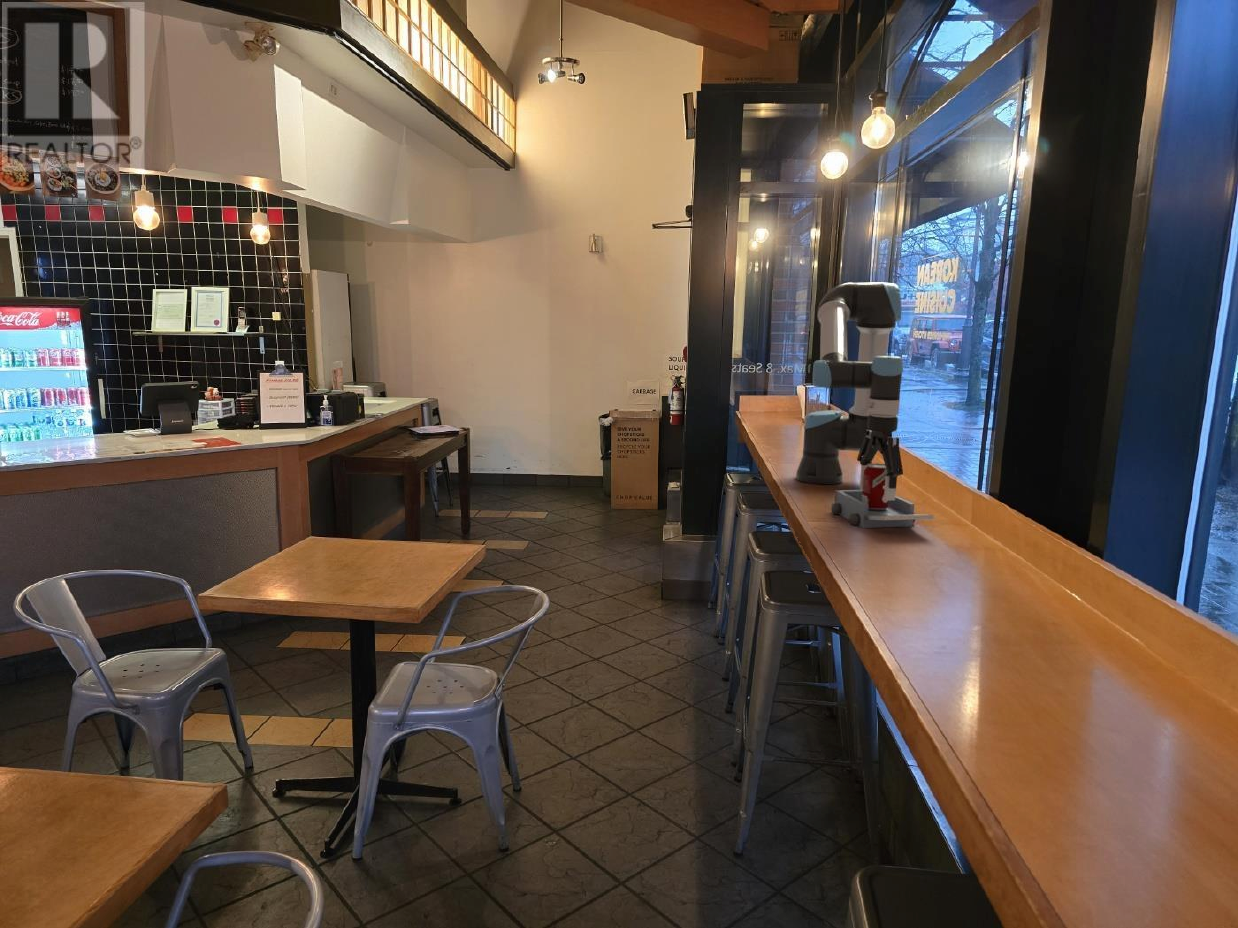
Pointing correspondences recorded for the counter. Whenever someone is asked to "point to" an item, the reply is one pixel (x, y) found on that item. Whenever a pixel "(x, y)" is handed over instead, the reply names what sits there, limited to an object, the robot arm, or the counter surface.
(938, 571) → the counter surface
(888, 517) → the panel
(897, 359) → the robot arm
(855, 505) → the box
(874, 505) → the soda can
